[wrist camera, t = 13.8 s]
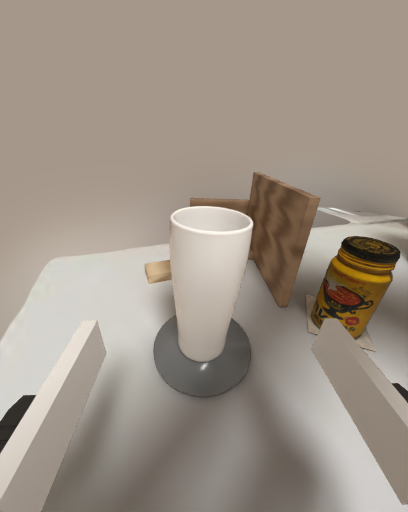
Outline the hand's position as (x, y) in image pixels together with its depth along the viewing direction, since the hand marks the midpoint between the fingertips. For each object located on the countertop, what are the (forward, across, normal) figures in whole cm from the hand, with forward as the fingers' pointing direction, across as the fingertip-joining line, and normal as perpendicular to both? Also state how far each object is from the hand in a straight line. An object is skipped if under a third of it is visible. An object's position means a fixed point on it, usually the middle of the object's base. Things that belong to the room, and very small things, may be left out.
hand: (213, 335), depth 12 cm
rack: (+26, +6, -11) cm, 29 cm away
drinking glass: (+8, 0, -10) cm, 13 cm away
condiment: (+12, +19, -11) cm, 25 cm away
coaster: (+8, 0, -11) cm, 13 cm away
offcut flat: (+23, -5, -11) cm, 26 cm away
